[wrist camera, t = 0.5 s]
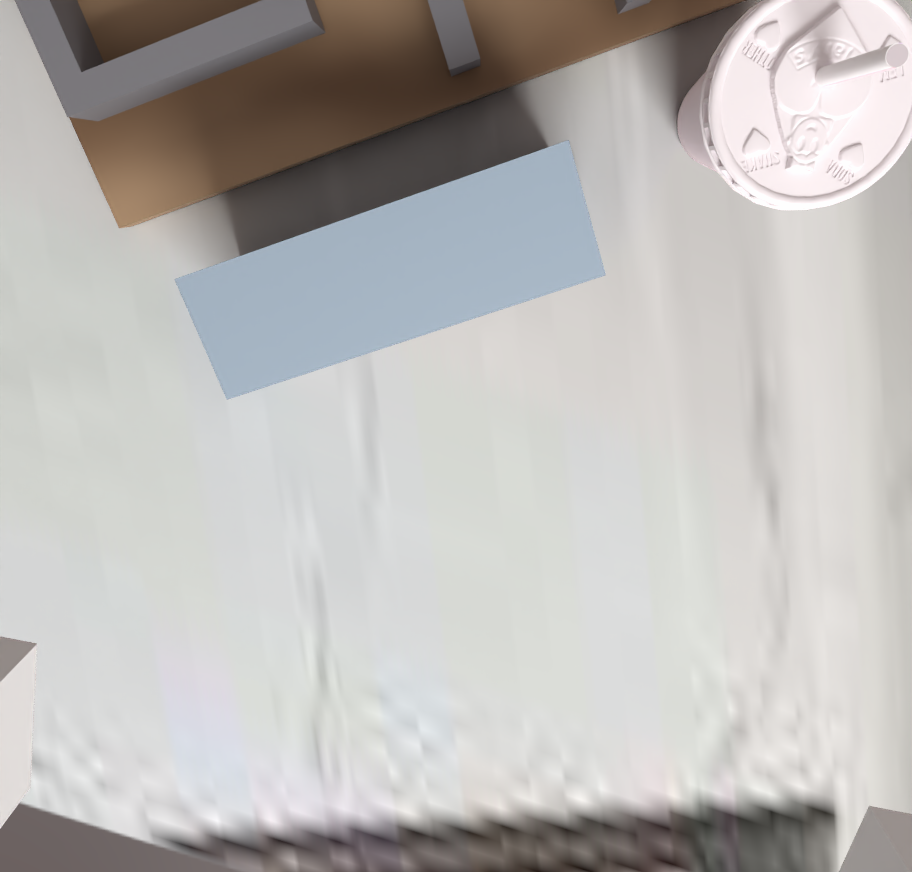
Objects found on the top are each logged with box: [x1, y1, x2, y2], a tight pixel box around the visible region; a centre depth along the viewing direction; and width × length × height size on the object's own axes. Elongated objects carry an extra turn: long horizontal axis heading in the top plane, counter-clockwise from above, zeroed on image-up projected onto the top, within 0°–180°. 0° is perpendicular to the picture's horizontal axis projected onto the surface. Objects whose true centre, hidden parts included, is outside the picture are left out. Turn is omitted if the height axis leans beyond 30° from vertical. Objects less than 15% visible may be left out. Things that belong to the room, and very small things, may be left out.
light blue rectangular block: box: [175, 140, 606, 399], centre depth 31 cm, size 14×4×8 cm, turn 109°
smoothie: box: [677, 0, 912, 210], centre depth 26 cm, size 6×6×14 cm
